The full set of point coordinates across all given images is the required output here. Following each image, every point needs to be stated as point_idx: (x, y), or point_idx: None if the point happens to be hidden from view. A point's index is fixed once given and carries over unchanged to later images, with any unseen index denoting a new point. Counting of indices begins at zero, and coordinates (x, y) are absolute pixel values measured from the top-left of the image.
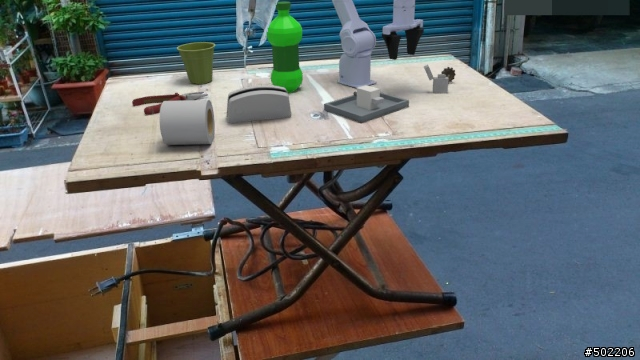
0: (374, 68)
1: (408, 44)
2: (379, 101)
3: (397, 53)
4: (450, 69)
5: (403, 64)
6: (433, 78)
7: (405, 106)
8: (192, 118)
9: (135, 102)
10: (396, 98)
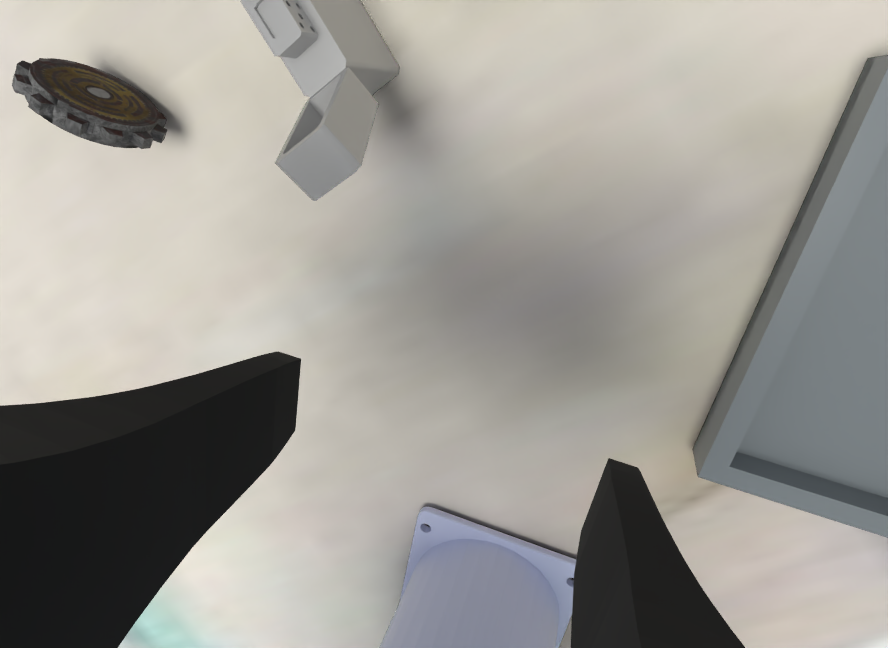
0: (196, 592)
1: (220, 496)
2: None
3: (620, 500)
4: (44, 84)
5: None
6: (350, 70)
7: None
8: None
9: None
10: (858, 201)
